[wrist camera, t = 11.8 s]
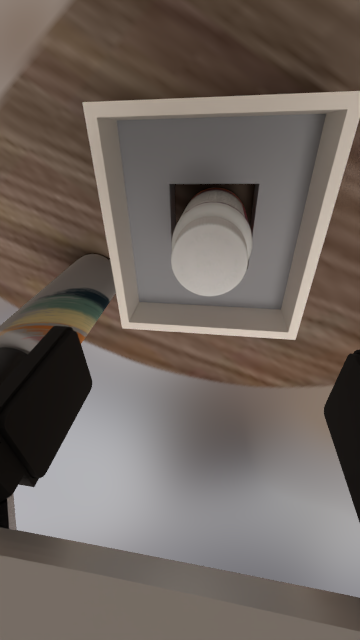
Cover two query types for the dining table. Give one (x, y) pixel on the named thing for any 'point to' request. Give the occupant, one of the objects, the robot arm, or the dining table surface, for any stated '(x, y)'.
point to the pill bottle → (211, 243)
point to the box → (220, 168)
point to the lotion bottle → (58, 309)
